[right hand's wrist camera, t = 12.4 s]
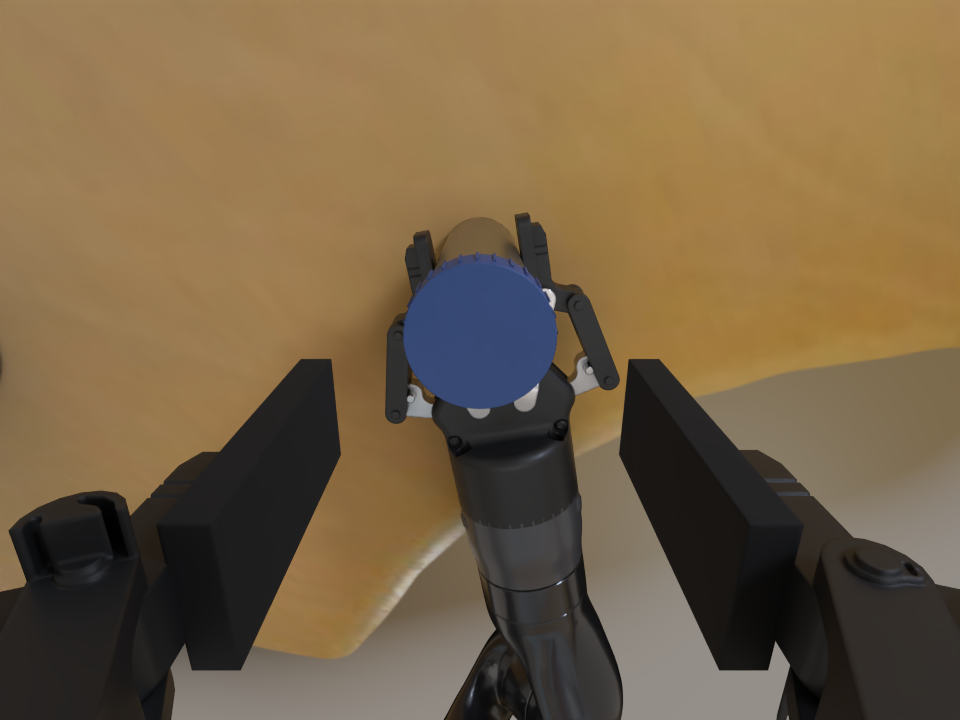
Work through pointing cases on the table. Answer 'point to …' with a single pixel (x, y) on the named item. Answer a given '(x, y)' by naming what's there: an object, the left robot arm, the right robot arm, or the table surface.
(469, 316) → the lid
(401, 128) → the table surface
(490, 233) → the jar
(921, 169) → the table surface
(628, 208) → the table surface
